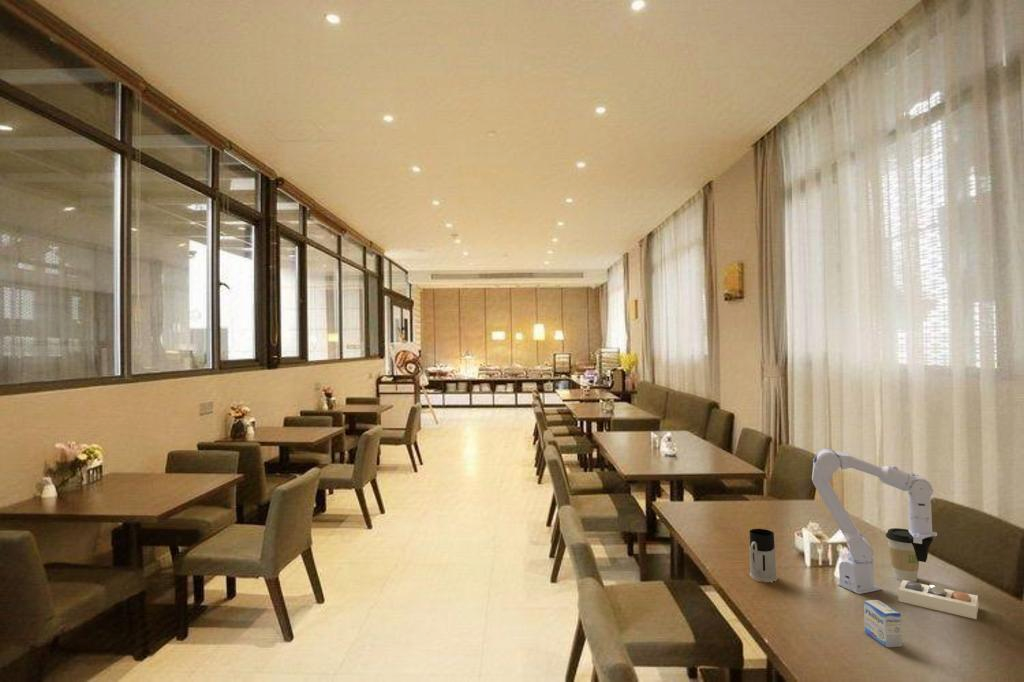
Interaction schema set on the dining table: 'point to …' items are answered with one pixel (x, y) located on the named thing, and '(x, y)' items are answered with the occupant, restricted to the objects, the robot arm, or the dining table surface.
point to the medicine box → (882, 623)
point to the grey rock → (937, 589)
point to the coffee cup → (902, 555)
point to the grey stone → (914, 586)
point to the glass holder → (762, 555)
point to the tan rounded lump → (961, 596)
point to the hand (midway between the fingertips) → (921, 560)
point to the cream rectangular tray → (938, 601)
